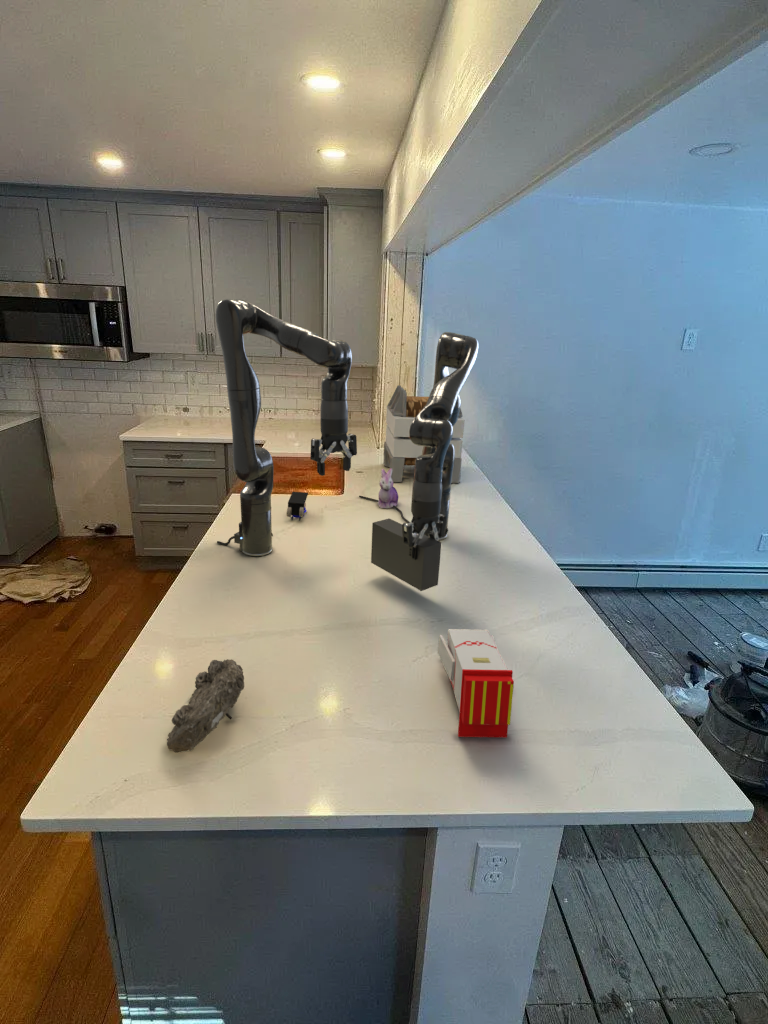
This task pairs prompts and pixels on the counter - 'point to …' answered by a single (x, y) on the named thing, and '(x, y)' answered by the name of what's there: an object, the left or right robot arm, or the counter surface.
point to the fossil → (206, 705)
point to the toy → (478, 682)
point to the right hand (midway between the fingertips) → (422, 555)
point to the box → (405, 555)
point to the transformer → (398, 440)
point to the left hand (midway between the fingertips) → (334, 472)
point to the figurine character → (297, 505)
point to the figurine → (387, 491)
